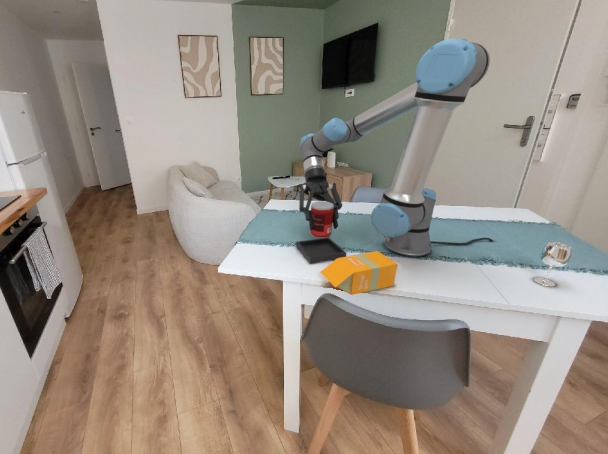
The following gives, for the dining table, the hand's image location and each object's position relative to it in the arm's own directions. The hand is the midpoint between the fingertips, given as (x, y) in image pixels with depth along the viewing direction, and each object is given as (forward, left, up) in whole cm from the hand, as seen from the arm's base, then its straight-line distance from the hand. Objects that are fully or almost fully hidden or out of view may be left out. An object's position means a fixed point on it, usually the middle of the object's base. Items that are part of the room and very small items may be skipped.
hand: (324, 228), depth 101 cm
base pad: (-1, -3, -11) cm, 12 cm away
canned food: (-1, -3, -4) cm, 5 cm away
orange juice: (-12, +18, -7) cm, 23 cm away
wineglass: (-55, +33, -11) cm, 65 cm away
